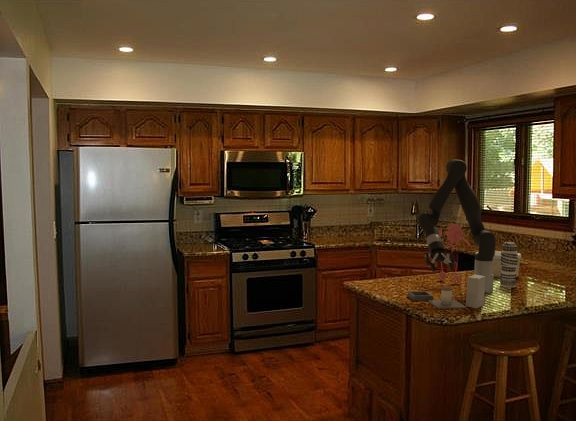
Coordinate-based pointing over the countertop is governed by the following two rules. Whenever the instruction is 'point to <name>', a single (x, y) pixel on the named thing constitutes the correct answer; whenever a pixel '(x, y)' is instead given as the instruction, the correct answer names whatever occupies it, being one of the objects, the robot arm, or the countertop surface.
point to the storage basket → (497, 264)
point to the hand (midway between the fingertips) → (442, 270)
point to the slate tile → (442, 306)
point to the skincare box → (475, 291)
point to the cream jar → (446, 295)
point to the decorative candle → (508, 265)
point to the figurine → (453, 236)
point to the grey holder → (420, 295)
